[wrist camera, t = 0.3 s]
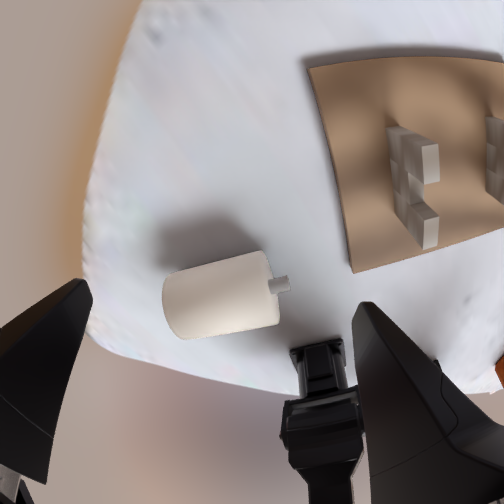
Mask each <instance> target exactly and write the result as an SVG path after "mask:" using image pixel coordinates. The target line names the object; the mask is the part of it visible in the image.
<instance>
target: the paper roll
mask: <svg viewBox="0 0 504 504" xmlns="http://www.w3.org/2000/svg"><path fill="white" fill-rule="evenodd" d="M285 291H290V284H289V280H288V277H287V275H286V276H282V277H278V278H273V274H272V271H271V268H270V265H269V263H268V260H267V258H266V255H265V254H264V252H263V251H262V250H259V251H255V252H252V253H248V254H244V255H240V256H236V257H232V258H228V259H224V260H220V261H216V262H213V263H209V264H205V265H201V266H197V267H193V268H189V269H185V270H181V271H177V272H174V273H170V274H169V275H168V276H167V277H166V279H165V281H164V283H163V288H162V305H163V310H164V314H165V317H166V320H167V322H168V325H169V326H170V328H171V330H172V331H173V333H174V334H175V335H176V336H177V337H179V338H180V339H182V340H190V339H197V338H204V337H210V336H217V335H223V334H229V333H235V332H241V331H246V330H252V329H257V328H262V327H267V326H272V325H277V324H279V320H280V311H279V302H278V296H277V293H281V292H285Z"/></svg>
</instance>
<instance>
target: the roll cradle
mask: <svg viewBox="0 0 504 504" xmlns="http://www.w3.org/2000/svg"><path fill="white" fill-rule="evenodd" d="M307 72H308V75H309V78H310V81H311V84H312V87H313V91H314V94H315V97H316V101H317V104H318V108H319V111H320V115H321V119H322V122H323V126H324V130H325V134H326V138H327V142H328V146H329V150H330V154H331V159H332V163H333V168H334V172H335V177H336V182H337V187H338V192H339V197H340V202H341V208H342V213H343V219H344V225H345V231H346V238H347V245H348V252H349V259H350V267H351V269H352V272H353V274H355V273H358V272H362V271H366V270H369V269H373V268H377V267H380V266H384V265H387V264H391V263H394V262H398V261H401V260H405V259H408V258H412V257H415V256H418V255H421V254H425V253H428V252H431V251H434V250H438V249H441V248H444V247H447V246H450V245H453V244H456V243H459V242H462V241H466V240H468V239H471V238H474V237H477V236H480V235H483V234H486V233H489V232H492V231H495V230H497V229H500V228H503V227H504V63H499V62H493V61H486V60H478V59H469V58H457V57H434V56H413V57H390V58H377V59H366V60H358V61H350V62H343V63H336V64H330V65H324V66H319V67H314V68H309V69H307Z"/></svg>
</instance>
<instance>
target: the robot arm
mask: <svg viewBox="0 0 504 504" xmlns="http://www.w3.org/2000/svg"><path fill="white" fill-rule="evenodd" d="M92 304H93V297H92V294H91V292H90V289H89V286H88V284H87V282H86V280H84V279H79V278H75V279H73V280H71V281H70V282H68V283H66V284H65V285H63V286H62V287H60V288H59V289H57V290H55V291H54V292H52V293H51V294H49V295H48V296H46V297H45V298H43V299H42V300H40V301H39V302H37V303H36V304H34V305H33V306H31V307H30V308H28V309H27V310H25V311H24V312H23V313H21V314H20V315H18V316H17V317H15V318H14V319H13V320H11V321H10V322H9V323H7V324H6V325H4V326H3V327H2V328H0V504H34V502H33V500H32V498H31V496H30V493H29V491H28V489H27V487H26V484H25V482H24V480H22V479H21V475H23V476H26V477H28V478H30V479H32V480H34V481H37V482H39V483H42V484H44V485H46V482H47V476H48V468H49V461H50V456H51V450H52V445H53V438H54V434H55V430H56V425H57V421H58V417H59V413H60V409H61V405H62V401H63V398H64V394H65V391H66V387H67V384H68V381H69V377H70V374H71V371H72V368H73V365H74V362H75V359H76V356H77V353H78V350H79V348H80V345H81V341H82V339H83V335H84V332H85V328H86V324H87V321H88V317H89V314H90V310H91V307H92ZM352 335H353V346H354V360H355V369H356V375H357V381H358V385H355V386H353V387H350V388H348V384H347V378H346V373H345V368H344V367H345V366H346V359H345V350H344V342H343V340H342V339H337V340H333V341H329V342H324V343H320V344H315V345H311V346H306V347H301V348H296V349H292V350H290V357H291V359H292V361H293V364H294V366H295V368H296V371H297V373H298V380H299V393H300V399H296V400H286V401H285V404H284V407H283V415H282V425H281V431H280V435H279V437H280V439H281V440H282V441H283V443H284V446H285V448H286V450H287V451H289V453H288V456H289V457H288V458H289V459H288V460H289V463H290V465H291V466H292V468H293V469H295V470H297V471H298V473H299V474H300V475H301V476H302V478H303V479H304V480H305V481H306V482H307V484H308V491H309V504H355V503H354V491H353V480H352V477H353V475H354V473H355V471H356V469H357V467H358V465H359V463H360V461H361V459H362V457H363V454H364V447H363V439H362V437H364V436H366V443H367V452H368V461H369V471H370V472H369V473H370V488H371V504H504V426H502V425H500V424H498V423H496V422H494V421H493V420H492V419H490V418H489V417H488V416H487V415H486V414H485V413H484V412H483V411H482V410H481V409H480V408H479V407H477V406H476V405H475V404H474V403H473V402H472V401H471V400H470V399H469V398H468V397H467V396H466V395H465V394H464V393H463V392H461V391H460V390H459V389H458V388H457V386H456V385H455V384H454V383H453V382H452V381H451V380H450V379H449V378H448V377H447V376H446V375H445V374H444V373H442V371H441V370H440V369H439V368H438V367H437V366H436V364H435V363H434V362H433V361H432V360H431V359H430V358H429V357H428V356H427V355H426V354H425V353H424V352H423V351H422V350H421V349H420V348H419V347H418V346H417V345H416V344H415V343H414V342H413V341H412V340H411V339H410V338H409V337H408V336H407V335H406V334H405V333H404V332H403V331H402V330H401V329H400V328H399V327H398V326H397V325H396V324H395V323H394V322H393V321H392V320H391V319H390V318H389V317H388V316H387V315H386V314H385V313H384V312H383V311H382V310H381V309H380V308H379V307H378V306H376V305H375V304H374V303H373V302H360V304H359V305H358V308H357V310H356V312H355V315H354V317H353V319H352ZM357 404H358V405H357Z"/></svg>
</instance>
